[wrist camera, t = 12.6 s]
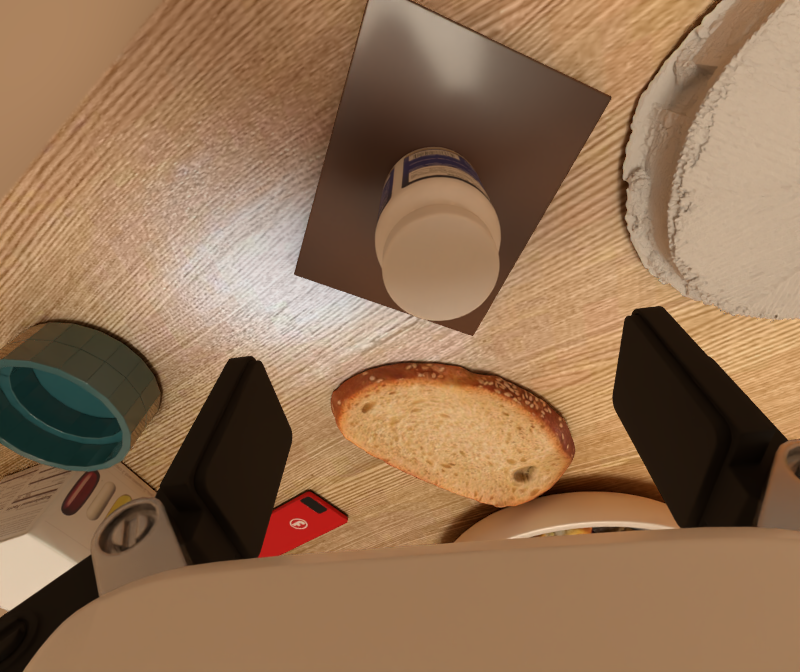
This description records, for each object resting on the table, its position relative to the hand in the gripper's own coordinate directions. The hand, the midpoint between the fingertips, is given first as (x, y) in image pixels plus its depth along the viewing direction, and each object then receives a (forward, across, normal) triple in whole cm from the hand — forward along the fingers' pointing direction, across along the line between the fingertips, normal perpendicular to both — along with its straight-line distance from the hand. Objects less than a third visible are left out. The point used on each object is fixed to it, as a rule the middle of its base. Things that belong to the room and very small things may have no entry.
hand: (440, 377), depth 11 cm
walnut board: (+18, 0, +1) cm, 18 cm away
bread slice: (+18, 0, +21) cm, 28 cm away
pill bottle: (+17, 0, +1) cm, 17 cm away
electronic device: (+18, +20, +34) cm, 43 cm away
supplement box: (+18, +36, +28) cm, 50 cm away
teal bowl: (+18, +29, +11) cm, 36 cm away
